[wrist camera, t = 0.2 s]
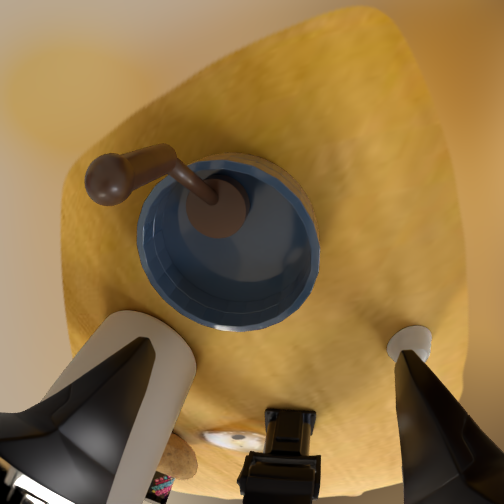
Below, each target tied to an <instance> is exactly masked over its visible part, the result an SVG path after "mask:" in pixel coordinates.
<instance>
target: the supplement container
mask: <svg viewBox="0 0 504 504" xmlns="http://www.w3.org/2000/svg"><path fill="white" fill-rule="evenodd" d="M174 480H175V478H173V477H171V476H168V475H166V474H163V473H161V472H158V471H155V474H154V476H153V479H152V481H151V484H150V486H149V488H148V491H147V493H146V496H145V498H144V500H145V501H147V502H150V503H152V504H166V502H167V499H168V496H169V494H170V491H171V488H172V485H173V483H174Z"/></svg>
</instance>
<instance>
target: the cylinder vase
mask: <svg viewBox="0 0 504 504" xmlns="http://www.w3.org/2000/svg"><path fill="white" fill-rule="evenodd" d="M140 336H141V337H147V338H149V339H150V340H151V343H152V345H153V347H154V350H155V353H156V358H155V362H154V365H153V369H152V373H151V376H150V380H149V384H148V387H147V391H146V393H145V396H144V399H143V401H142V404H141V407H140V409H139V412H138V414H137V417H136V420H135V422H134V425H133V428H132V430H131V433H130V436H129V439H128V441H127V444H126V447H125V450H124V452H123V455H122V458H121V461H120V464H119V467H118V470H117V472H116V475H115V479H114V482H113V485H112V488H111V491H110V494H109V497H108V500H107V503H106V504H142V503H143V501H144V498H145V496H146V493H147V491H148V488H149V486H150V484H151V481H152V479H153V476H154V474H155V471H156V469H157V467H158V464H159V462H160V459H161V457H162V454H163V452H164V450H165V447H166V445H167V442H168V440H169V437H170V435H171V433H172V430H173V428H174V425H175V423H176V421H177V418H178V416H179V413H180V411H181V409H182V406H183V404H184V401H185V399H186V397H187V394H188V392H189V389H190V387H191V385H192V382H193V380H194V377H195V375H196V361H195V358H194V355H193V353H192V351H191V349H190V347H189V346H188V344H187V343H186V342H185V341H184V339H183V338H182V337H181V336H180V335H179V334H178V333H177V332H176V331H174V330H173V329H172V328H171V327H169V326H168V325H167V324H165V323H164V322H162V321H160V320H158V319H157V318H155V317H152V316H150V315H148V314H145V313H141V312H137V311H130V310H124V311H118V312H115V313H113V314H111V315H109V316H108V317H107V318H106V319H105V320H104V322H103V323H102V324H101V325H100V326H99V328H98V329H97V330H96V331H95V332H94V334H93V335H92V336H91V337H90V338H89V340H88V341H87V342H86V343H85V345H84V346H83V347H82V348H81V349H80V351H79V352H78V353H77V354H76V356H75V357H74V358H73V360H72V361H71V362H70V363H69V365H68V366H67V367H66V369H65V370H64V371H63V372H62V374H61V375H60V376H59V378H58V379H57V380H56V382H55V383H54V384H53V386H52V387H51V388H50V390H49V391H48V393H47V394H46V395H45V396H44V398H43V399H42V400H41V402H42V401H43V400H45V399H47V398H49V397H50V396H52V395H54V394H56V393H57V392H59V391H60V390H62V389H63V388H65V387H66V386H68V385H69V384H72V382H74V381H75V380H76V379H78V378H79V377H81V376H82V375H84V374H85V373H87V372H88V371H89V370H91V369H92V368H94V367H95V366H97V365H98V364H100V363H101V362H103V361H104V360H105V359H107V358H108V357H110V356H111V355H113V354H114V353H116V352H117V351H118V350H120V349H121V348H123V347H124V346H126V345H127V344H129V343H130V342H131V341H133V340H134V339H136V338H137V337H140Z"/></svg>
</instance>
